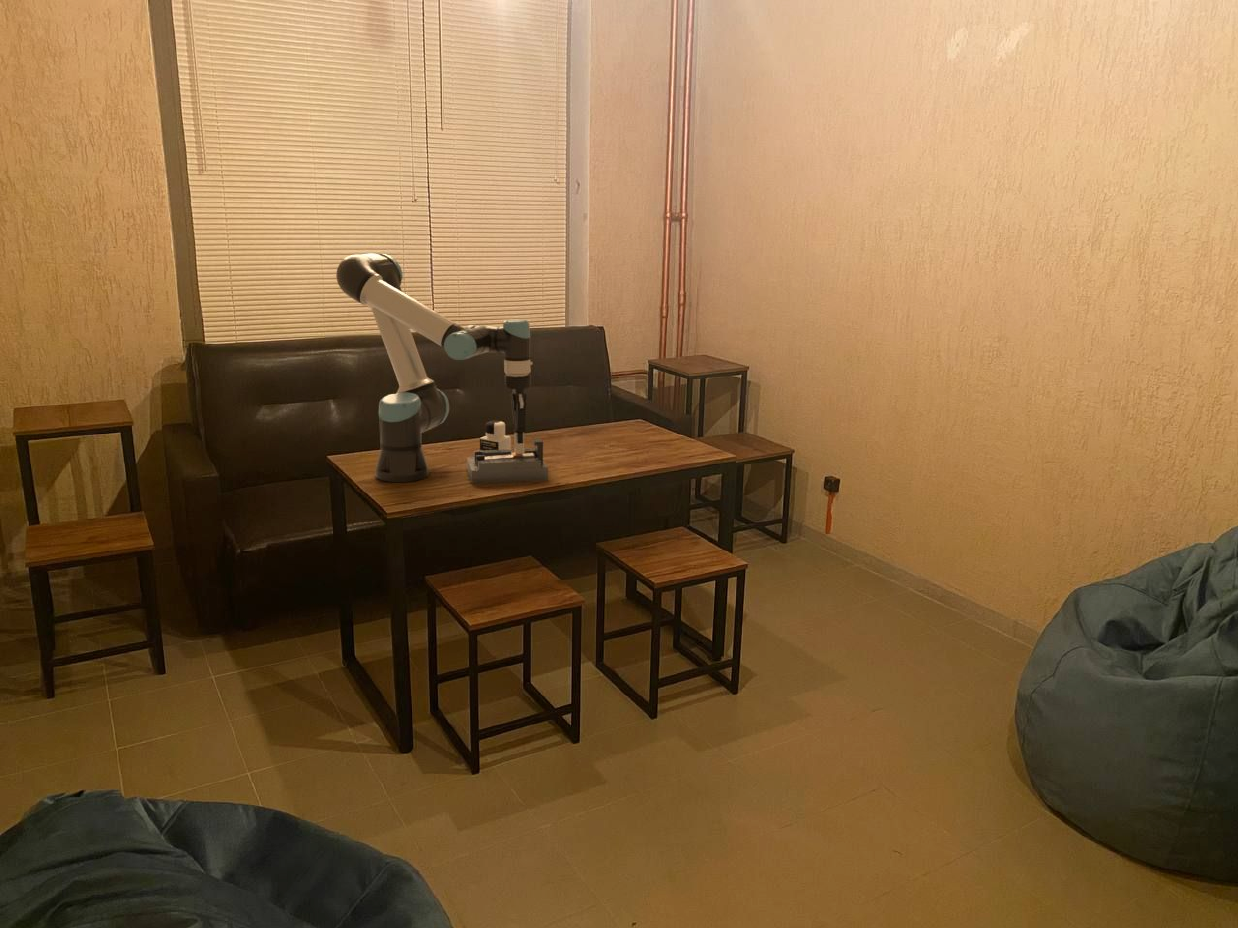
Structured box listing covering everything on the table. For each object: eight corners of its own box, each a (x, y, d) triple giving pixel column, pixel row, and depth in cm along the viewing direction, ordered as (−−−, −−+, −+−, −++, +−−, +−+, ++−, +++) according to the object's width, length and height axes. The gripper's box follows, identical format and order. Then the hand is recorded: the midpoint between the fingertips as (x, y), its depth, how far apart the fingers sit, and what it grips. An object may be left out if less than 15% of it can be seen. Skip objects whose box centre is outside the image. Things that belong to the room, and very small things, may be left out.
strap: (477, 464, 260) (477, 458, 260) (476, 461, 264) (475, 454, 263) (534, 460, 264) (534, 454, 264) (532, 456, 268) (532, 450, 267)
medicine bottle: (479, 459, 280) (479, 422, 277) (492, 454, 286) (492, 418, 283) (498, 463, 277) (498, 425, 274) (511, 458, 283) (511, 421, 280)
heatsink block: (472, 484, 256) (471, 448, 253) (467, 470, 269) (466, 436, 266) (547, 480, 262) (548, 445, 259) (539, 466, 275) (539, 433, 272)
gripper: (534, 377, 253) (536, 458, 259) (527, 369, 265) (528, 446, 271) (508, 378, 251) (510, 459, 257) (501, 370, 263) (503, 448, 269)
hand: (519, 452), depth 264 cm, fingers closed
